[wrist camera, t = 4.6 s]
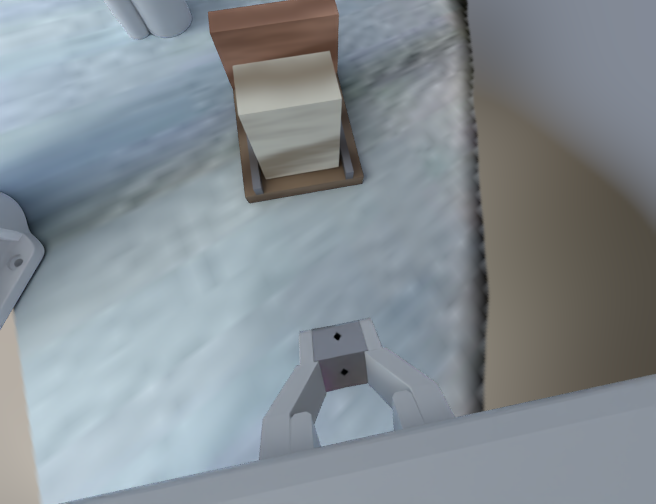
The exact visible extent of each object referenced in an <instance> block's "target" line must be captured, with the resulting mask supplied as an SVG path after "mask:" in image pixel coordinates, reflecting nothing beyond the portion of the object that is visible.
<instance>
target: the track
mask: <svg viewBox="0 0 656 504" xmlns="http://www.w3.org/2000/svg"><path fill="white" fill-rule="evenodd" d="M208 18H209V29H210V35H211V37H212V39H213V42H214V44H215V47H216V49H217V52H218V54H219V57H220V59H221V62H222V64H223V66H224V69H225V71H226V74H227V76H228V79H229V81H230V84H231V86H232V88H233V94H234V103H235V112H236V121H237V130H238V138H239V147H240V156H241V165H242V173H243V182H244V191H245V197H246V199H247V201H248V202H249V203H254V202H259V201H265V200H271V199H277V198H282V197H288V196H294V195H300V194H305V193H311V192H317V191H323V190H328V189H334V188H340V187H345V186H351V185H357V184H362V182H363V177H364V176H363V172H362V168H361V164H360V160H359V156H358V152H357V148H356V145H355V141H354V137H353V133H352V129H351V125H350V121H349V117H348V113H347V109H346V106H345V102H344V98H343V94H342V90H341V86H340V82H339V78H338V74H337V63H338V23H339V13H338V10H337V6H336V3H335V0H288V1H281V2H274V3H267V4H260V5H253V6H246V7H239V8H232V9H225V10H218V11H211V12H208ZM326 51H330V54H331V58H332V62H333V66H334V70H335V74H336V78H337V82H338V86H339V89H340V93H341V97H342V107H341V127H340V148H339V167H335V168H329V169H324V170H318V171H312V172H306V173H300V174H294V175H288V176H283V177H277V178H271V179H266V178H265V176H264V174H263V171H262V169H261V167H260V165H259V162H258V160H257V158H256V155H255V153H254V151H253V148H252V146H251V144H250V141H249V139H248V137H247V134H246V132H245V130H244V128H243V125H242V123H241V121H240V118H239V116H238V109H237V100H236V92H235V83H234V75H233V66H234V65H240V64H247V63H253V62H260V61H266V60H273V59H280V58H286V57H293V56H299V55H306V54H312V53H319V52H326Z"/></svg>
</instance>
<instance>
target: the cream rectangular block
mask: <svg viewBox="0 0 656 504" xmlns="http://www.w3.org/2000/svg"><path fill="white" fill-rule="evenodd" d="M233 75H234V83H235V92H236V100H237V109H238V116H239V118H240V121H241V123H242V125H243V128H244V130H245V132H246V134H247V137H248V139H249V141H250V144H251V146H252V148H253V151H254V153H255V155H256V158H257V160H258V162H259V165H260V167H261V169H262V171H263V174H264V176H265V178H266V179H271V178H277V177H283V176H288V175H294V174H300V173H306V172H312V171H318V170H324V169H329V168H335V167H339V148H340V127H341V107H342V97H341V93H340V89H339V86H338V82H337V78H336V74H335V70H334V66H333V62H332V58H331V54H330V51H326V52H319V53H312V54H306V55H299V56H293V57H286V58H280V59H273V60H266V61H260V62H253V63H247V64H240V65H234V66H233Z"/></svg>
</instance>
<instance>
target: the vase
mask: <svg viewBox="0 0 656 504" xmlns="http://www.w3.org/2000/svg"><path fill="white" fill-rule="evenodd" d="M104 2H105V3H106V5H107V6H108V8H109V9H110V11H111V12H112V13H113V15H114V16H115V18H116V19H117V20H118V21H119V22H120V24H121V25H122V27H123V28H124V30H125V31H126V32H127V34H128V35H129V37H130V38H132V39H136V40H139V39H143V38H145V37H147V36H148V35H149V32H151V33H152V34H153V35H155V36H157V37H163V38H167V37H174V36H177V35H179V34H181V33H182V32H184V31H185V30H186V29H187V28H188V27H189V26H190V24H191V22H192V15H191V12H190V10H189V8H188V5H187V3H186V1H185V0H104Z"/></svg>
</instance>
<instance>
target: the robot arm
mask: <svg viewBox="0 0 656 504" xmlns="http://www.w3.org/2000/svg"><path fill="white" fill-rule="evenodd" d="M43 256H44V247H43V245H42V244H41V243H40V241H39V240H38V239H37V238H36V237H34V236H33V235H32V234H31V232H30V231H29V228H28V225H27V221H26V217H25V215H24V212H23V210H22V209H21V207H20V206H19V204H18V203H17V202H16V201H15V200H14V199H12V198H11V197H10V196H8V195H6V194H4V193H2V192H0V329H1V328H2V326H3V324H4V323H5V321H6V319H7V317H8V316H9V314H10V312H11V311H12V309H13V307H14V306H15V304H16V302H17V300H18V299H19V297H20V295H21V294H22V292H23V290H24V289H25V287H26V285H27V283H28V282H29V280H30V278H31V277H32V275H33V273H34V271H35V270H36V268H37V266H38V265H39V263H40V261H41V260H42V258H43ZM299 353H300V365H297V366H296V367H295V369H294V370H293V372H292V373H291V375H290V377H289V378H288V380H287V381H286V383H285V384H284V386H283V388H282V389H281V391H280V392H279V394H278V396H277V397H276V399H275V400H274V402H273V404H272V405H271V407H270V408H269V410H268V412H267V413H266V415H265V416H264V418H263V421H262V432H261V442H260V453H259V460H258V461H254V462H249V463H244V464H240V465H235V466H231V467H226V468H221V469H217V470H212V471H207V472H203V473H198V474H194V475H189V476H184V477H180V478H175V479H171V480H166V481H161V482H157V483H152V484H148V485H143V486H138V487H134V488H129V489H124V490H120V491H115V492H111V493H106V494H101V495H97V496H92V497H87V498H83V499H78V500H74V501H69V502H64V503H60V504H656V374H653V375H649V376H644V377H640V378H635V379H630V380H626V381H622V382H617V383H612V384H607V385H603V386H599V387H594V388H589V389H585V390H580V391H575V392H571V393H566V394H562V395H557V396H552V397H548V398H543V399H539V400H534V401H529V402H525V403H520V404H515V405H511V406H506V407H502V408H497V409H492V410H488V411H483V412H479V413H474V414H469V415H465V416H460V417H456V418H455V416H454V414H453V412H452V410H451V408H450V406H449V404H448V403H447V401H446V399H445V397H444V395H443V393H442V391H441V389H440V387H439V386H438V384H437V383H436V382H435V381H434V380H432V379H431V378H429V377H428V376H427V375H425V374H424V373H422V372H421V371H419V370H418V369H417V368H415V367H414V366H412V365H411V364H409V363H408V362H407V361H405V360H404V359H402V358H401V357H400V356H398V355H397V354H395V353H394V352H392V351H391V350H390V349H388V348H387V347H385V348H383V347H382V345H381V342H380V340H379V337H378V334H377V332H376V329H375V327H374V324H373V321H372V319H371V318H365V319H360V320H356V321H351V322H346V323H342V324H337V325H332V326H327V327H321V328H315V329H311V330H305V331H300V332H299ZM367 383H368V384H369V385H370V386H371V387H372V388H373V389H374V390H375V392H376V393H377V394H378V395H379V396H380V397H381V398H382V399H383V400H384V401H385V402H386V403H387V404H388V405H389V406H390V407H391V408H392V409H393V425H394V431H391V432H387V433H382V434H378V435H373V436H368V437H364V438H359V439H355V440H350V441H345V442H341V443H336V444H332V445H327V446H323V447H321V445H320V442H319V439H318V436H317V432H316V429H315V426H314V423H315V421H316V418H317V416H318V413H319V411H320V408H321V406H322V403H323V401H324V398H325V396H326V392H328V391H333V390H337V389H341V388H345V387H350V386H356V385H361V384H367Z"/></svg>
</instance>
